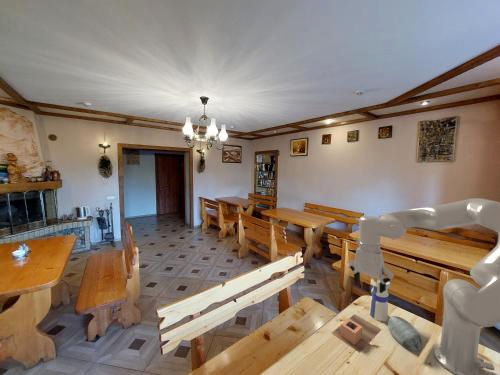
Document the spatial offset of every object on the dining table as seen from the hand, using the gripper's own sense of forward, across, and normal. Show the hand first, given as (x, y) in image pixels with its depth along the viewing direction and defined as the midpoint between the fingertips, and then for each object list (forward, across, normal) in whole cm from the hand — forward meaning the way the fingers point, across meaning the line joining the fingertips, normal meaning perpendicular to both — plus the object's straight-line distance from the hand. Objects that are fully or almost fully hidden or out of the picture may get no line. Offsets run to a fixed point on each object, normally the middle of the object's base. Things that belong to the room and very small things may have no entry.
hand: (369, 286), depth 87 cm
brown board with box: (+23, -4, -1) cm, 23 cm away
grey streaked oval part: (+24, +9, +11) cm, 28 cm away
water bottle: (+24, -3, +17) cm, 29 cm away
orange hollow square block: (+21, -4, -6) cm, 23 cm away
